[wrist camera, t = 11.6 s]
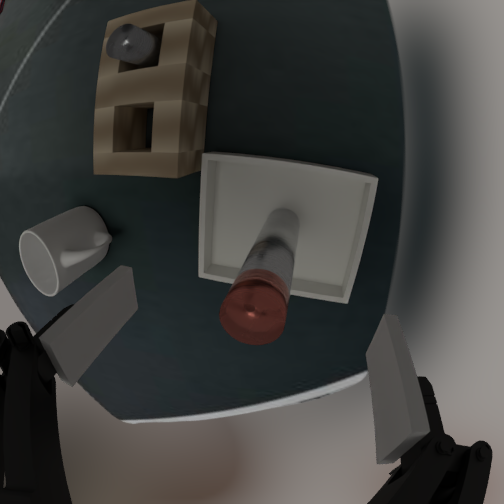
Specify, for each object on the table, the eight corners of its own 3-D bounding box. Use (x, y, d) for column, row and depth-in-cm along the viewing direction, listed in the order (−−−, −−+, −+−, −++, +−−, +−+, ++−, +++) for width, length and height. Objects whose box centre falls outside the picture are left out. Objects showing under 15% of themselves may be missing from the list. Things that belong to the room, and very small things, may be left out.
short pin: (158, 49, 23) (109, 29, 15) (185, 45, 22) (140, 19, 14) (155, 75, 24) (103, 62, 16) (182, 72, 24) (134, 54, 15)
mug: (136, 262, 34) (85, 304, 25) (79, 259, 37) (32, 292, 27) (122, 199, 31) (61, 227, 21) (66, 207, 34) (12, 232, 24)
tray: (213, 151, 27) (202, 153, 24) (371, 174, 24) (378, 178, 22) (208, 265, 32) (198, 277, 29) (344, 288, 30) (347, 303, 27)
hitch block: (138, 33, 22) (108, 21, 17) (217, 21, 20) (196, -1, 15) (126, 165, 29) (93, 174, 24) (203, 169, 28) (177, 178, 22)
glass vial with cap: (268, 205, 27) (220, 286, 13) (302, 210, 27) (289, 299, 13) (264, 237, 29) (218, 337, 15) (297, 242, 28) (279, 349, 14)
